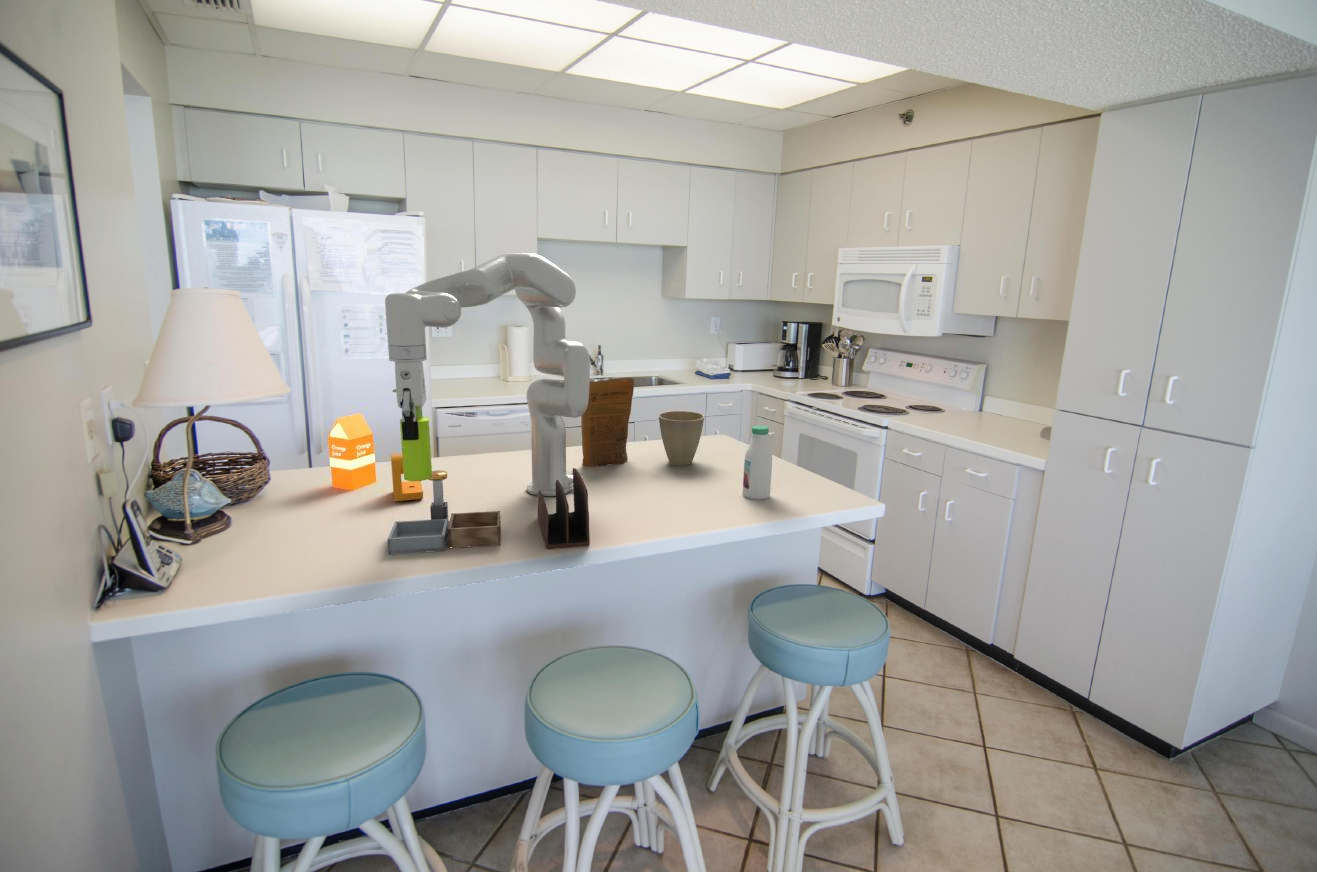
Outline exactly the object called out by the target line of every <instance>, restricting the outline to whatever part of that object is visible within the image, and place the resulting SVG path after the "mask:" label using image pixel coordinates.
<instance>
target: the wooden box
mask: <svg viewBox="0 0 1317 872" xmlns="http://www.w3.org/2000/svg"><path fill="white" fill-rule="evenodd" d="M449 521H450V522H449V527H448V539H447V540H448V549H451V548H450V547H463V548H469V547H468V546H479V547H486V546H485V545H495V546H501V544H502V543H501V541H502V540H501V539H502V538H501V537H502V533H501V532H502V531H501V530H502V527H501V525H502V523H501V522H502V521H501V511H500V510H495V511H494V510H493V511H489V510H488V511H473V512H471V511H470V512H456V513H455V512H454V513H453V512H452V513H451V514H450V518H449Z"/></svg>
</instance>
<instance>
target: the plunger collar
mask: <svg viewBox="0 0 1317 872" xmlns="http://www.w3.org/2000/svg"><path fill="white" fill-rule="evenodd" d="M448 503H449V502H448V501H444V506H438V507H434V501H433V502H431V504H430V507H429V508H430V520H434V519H448V527H449V522H450V519H449V504H448Z"/></svg>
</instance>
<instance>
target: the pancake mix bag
mask: <svg viewBox="0 0 1317 872" xmlns="http://www.w3.org/2000/svg"><path fill="white" fill-rule="evenodd" d="M634 388H635V378H633V377H619V378H612V379H606V380H596V381H590V383H589V401H588V406H587V409H586V411H585V413H584V414H583V415H582V416H580V419H581V421H580V426H581V427H580V429H581V447H582V449H581V451H582V461H581V463H582V464H581V466H583V467H589V468H590V467H591V468H596V467H601V466H609V465H610V466H611V465H617V464H624V463H627V462H628V460H629V459H628V454H627V441H628V435H629V421H630V417H631V411H632V402H633V397H634V390H635V389H634Z"/></svg>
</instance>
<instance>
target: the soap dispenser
mask: <svg viewBox="0 0 1317 872" xmlns="http://www.w3.org/2000/svg"><path fill="white" fill-rule="evenodd" d="M392 392H393V393H396V388H395V389H393V390H392ZM410 407H414V405H410ZM410 411H412V412H413V410H410ZM416 421H418V431H419V439H418V440H403V435H402V418H400V419H399V424H400V425H399V426H400V440H401V441H400V442H401V454H402V458H403V472H404V474H403V479H404V481H421V482H422V481H423V482H424V481H427V480H428V479H430V478H431V477H432V471H433V469H432V468H433V467H432V455H431V454H432V452H431V451H432V450H431V435H430V418H428V417H426V416H425V417H424V416H423V407H422V408H419V406H416Z"/></svg>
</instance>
